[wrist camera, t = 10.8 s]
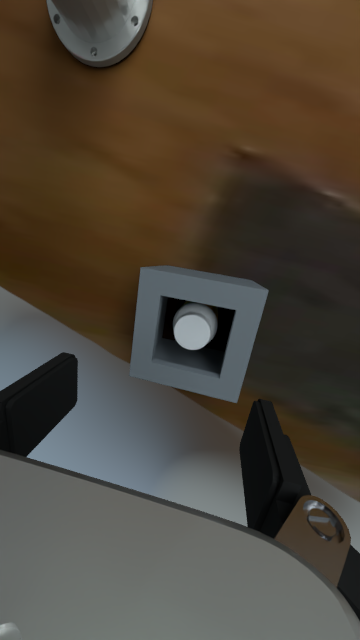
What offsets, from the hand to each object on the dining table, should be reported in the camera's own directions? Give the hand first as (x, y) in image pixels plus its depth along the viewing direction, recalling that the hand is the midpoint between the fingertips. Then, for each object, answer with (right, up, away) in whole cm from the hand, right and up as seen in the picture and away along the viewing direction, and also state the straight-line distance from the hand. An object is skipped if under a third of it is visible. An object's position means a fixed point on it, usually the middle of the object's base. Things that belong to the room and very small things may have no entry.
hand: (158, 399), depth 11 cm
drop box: (+4, +5, +21) cm, 22 cm away
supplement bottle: (+4, +5, +21) cm, 22 cm away
